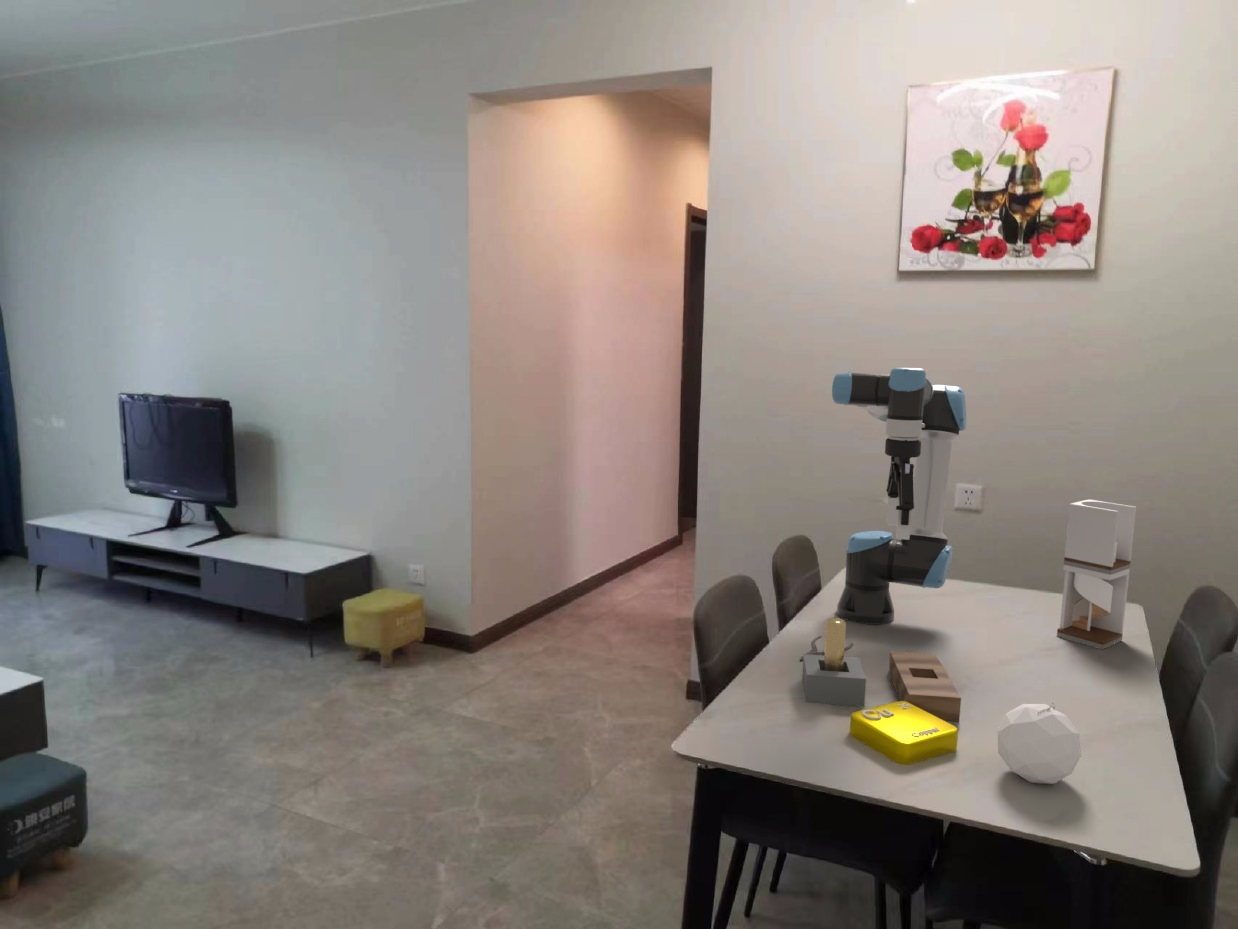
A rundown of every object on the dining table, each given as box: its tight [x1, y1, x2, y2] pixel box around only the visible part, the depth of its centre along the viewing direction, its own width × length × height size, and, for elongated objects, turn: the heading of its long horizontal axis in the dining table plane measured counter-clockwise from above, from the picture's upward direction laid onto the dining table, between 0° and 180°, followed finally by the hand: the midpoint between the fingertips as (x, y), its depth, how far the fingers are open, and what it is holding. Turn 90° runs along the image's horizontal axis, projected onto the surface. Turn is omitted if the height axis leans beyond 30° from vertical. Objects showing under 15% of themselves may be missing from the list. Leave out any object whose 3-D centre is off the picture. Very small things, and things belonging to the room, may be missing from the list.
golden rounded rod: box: [824, 617, 847, 672], centre depth 187 cm, size 4×4×16 cm
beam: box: [888, 651, 962, 722], centre depth 187 cm, size 24×10×5 cm, turn 172°
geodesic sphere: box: [997, 702, 1082, 785], centre depth 153 cm, size 14×14×14 cm
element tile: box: [849, 700, 959, 765], centre depth 166 cm, size 15×15×5 cm
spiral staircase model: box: [1056, 499, 1137, 650], centre depth 222 cm, size 11×11×35 cm
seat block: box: [801, 653, 867, 707], centre depth 188 cm, size 12×12×6 cm
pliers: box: [799, 635, 854, 663], centre depth 213 cm, size 10×1×20 cm
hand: (897, 532), depth 196 cm, fingers open, 13 cm apart
